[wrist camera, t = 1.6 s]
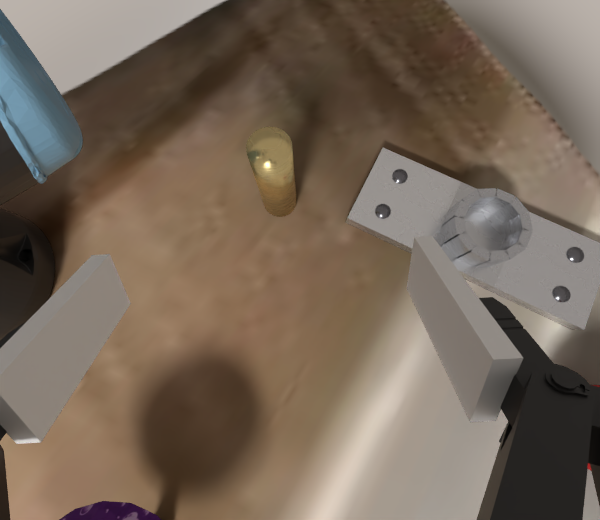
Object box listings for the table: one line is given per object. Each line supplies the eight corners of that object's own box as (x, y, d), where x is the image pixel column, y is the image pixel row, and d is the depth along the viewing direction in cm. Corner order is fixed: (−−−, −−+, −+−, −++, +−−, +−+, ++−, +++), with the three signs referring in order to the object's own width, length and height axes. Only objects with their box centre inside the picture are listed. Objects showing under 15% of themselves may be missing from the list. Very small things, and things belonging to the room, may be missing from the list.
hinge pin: (258, 207, 36) (237, 156, 26) (273, 180, 37) (259, 119, 26) (287, 222, 36) (278, 176, 25) (302, 194, 37) (300, 138, 26)
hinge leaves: (345, 222, 36) (351, 207, 32) (379, 154, 37) (389, 131, 33) (572, 329, 33) (612, 329, 29) (598, 251, 35) (641, 240, 30)
